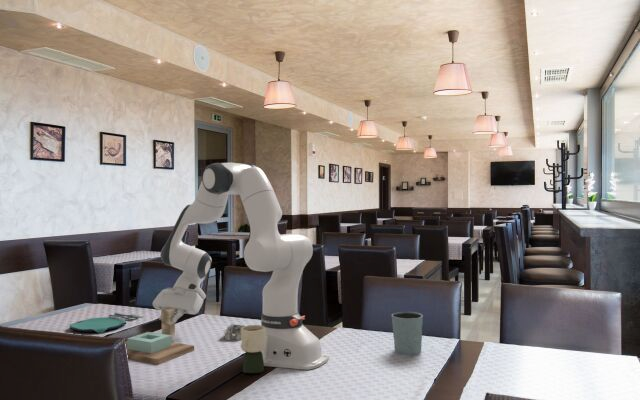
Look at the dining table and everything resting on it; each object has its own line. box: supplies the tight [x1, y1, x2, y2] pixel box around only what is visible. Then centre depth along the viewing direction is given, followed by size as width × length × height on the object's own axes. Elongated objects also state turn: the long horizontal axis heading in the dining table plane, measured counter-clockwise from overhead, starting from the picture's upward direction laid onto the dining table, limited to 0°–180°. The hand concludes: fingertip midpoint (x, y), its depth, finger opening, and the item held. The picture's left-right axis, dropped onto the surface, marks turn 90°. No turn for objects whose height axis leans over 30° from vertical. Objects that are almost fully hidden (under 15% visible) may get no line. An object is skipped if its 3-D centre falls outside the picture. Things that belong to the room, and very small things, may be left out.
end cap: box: [126, 331, 172, 353], centre depth 172 cm, size 10×9×4 cm
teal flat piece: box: [69, 312, 143, 335], centre depth 209 cm, size 20×30×2 cm, turn 162°
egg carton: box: [223, 323, 245, 341], centre depth 190 cm, size 11×8×4 cm
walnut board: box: [124, 341, 195, 365], centre depth 172 cm, size 24×16×2 cm, turn 63°
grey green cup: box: [391, 311, 424, 356], centre depth 171 cm, size 10×10×12 cm
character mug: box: [240, 324, 265, 375], centre depth 151 cm, size 11×7×13 cm, turn 157°
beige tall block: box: [161, 308, 176, 338], centre depth 190 cm, size 4×2×10 cm, turn 63°
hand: (166, 320), depth 190 cm, fingers closed on beige tall block, 4 cm apart
